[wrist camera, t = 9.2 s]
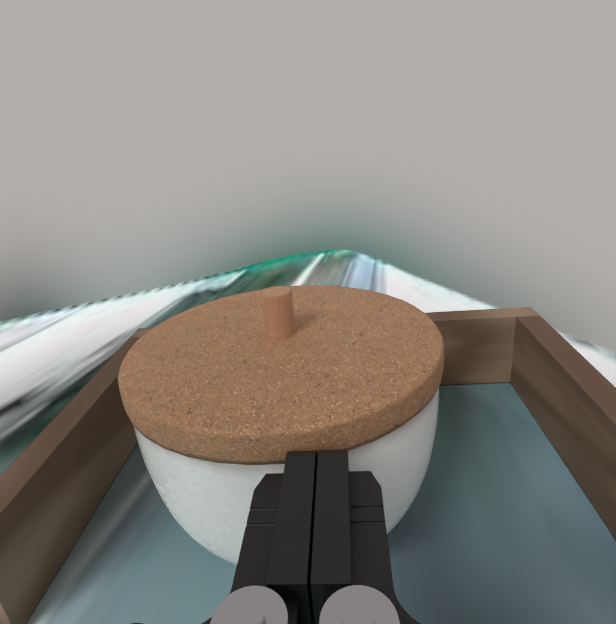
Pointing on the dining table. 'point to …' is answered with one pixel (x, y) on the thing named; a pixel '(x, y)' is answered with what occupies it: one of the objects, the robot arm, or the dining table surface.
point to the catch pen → (122, 438)
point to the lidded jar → (281, 398)
